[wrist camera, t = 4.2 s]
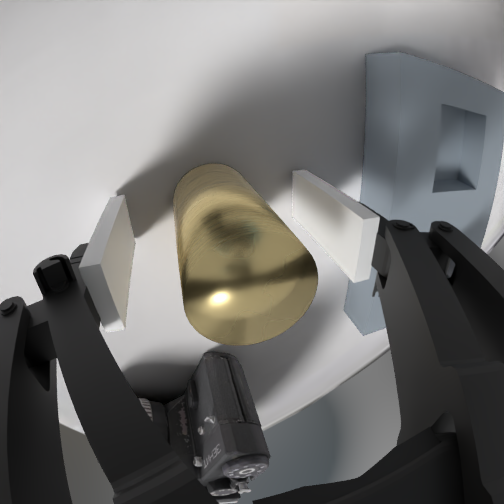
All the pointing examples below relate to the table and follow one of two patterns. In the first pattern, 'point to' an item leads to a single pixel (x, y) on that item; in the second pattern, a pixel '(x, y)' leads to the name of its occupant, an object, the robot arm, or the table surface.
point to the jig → (426, 156)
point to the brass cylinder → (237, 260)
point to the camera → (215, 428)
